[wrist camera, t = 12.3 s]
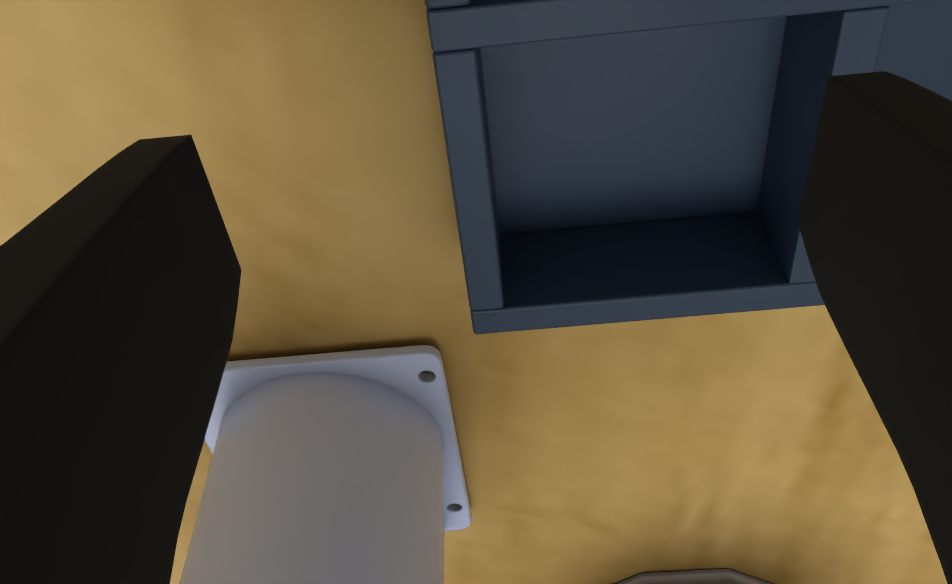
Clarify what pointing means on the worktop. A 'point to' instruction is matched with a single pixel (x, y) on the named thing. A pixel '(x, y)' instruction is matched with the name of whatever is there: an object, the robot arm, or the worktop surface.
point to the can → (694, 577)
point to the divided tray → (650, 146)
